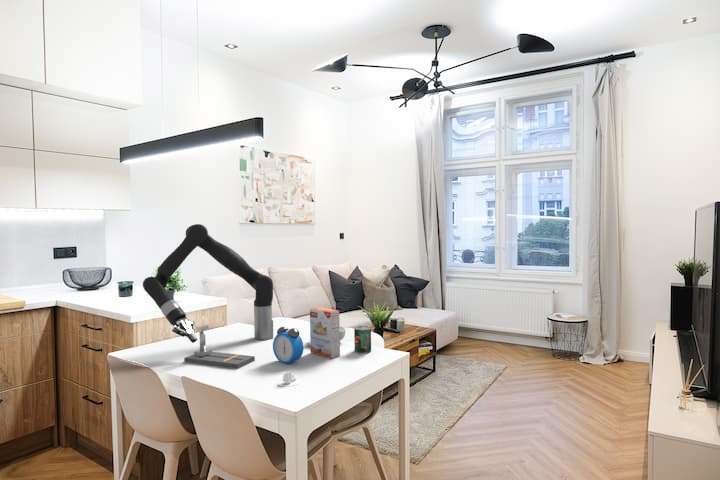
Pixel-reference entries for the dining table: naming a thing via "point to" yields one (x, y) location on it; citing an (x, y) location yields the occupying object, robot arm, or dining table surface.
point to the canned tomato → (362, 339)
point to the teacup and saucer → (288, 379)
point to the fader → (202, 341)
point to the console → (221, 360)
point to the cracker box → (325, 332)
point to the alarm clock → (287, 345)
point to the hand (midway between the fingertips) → (195, 341)
